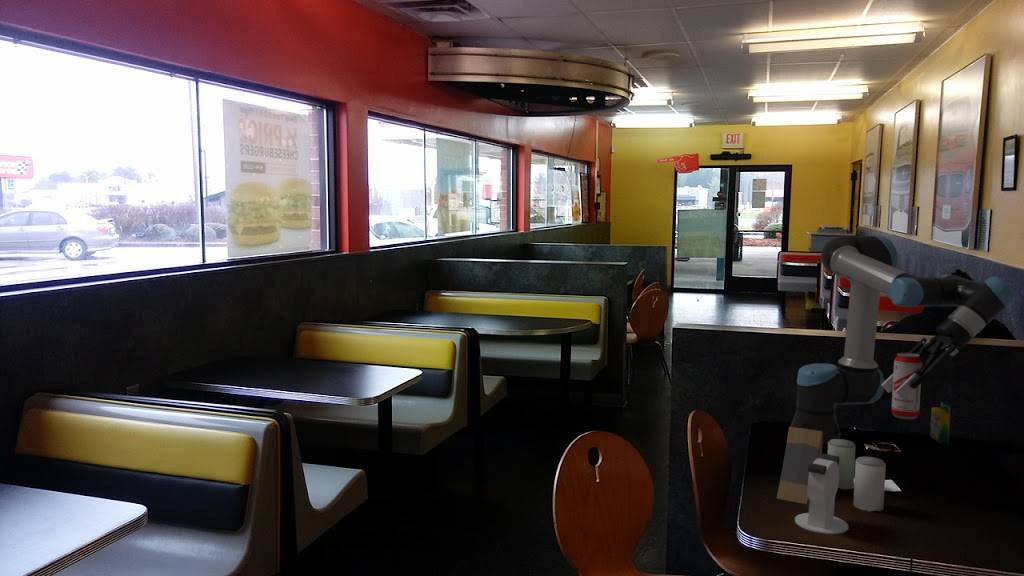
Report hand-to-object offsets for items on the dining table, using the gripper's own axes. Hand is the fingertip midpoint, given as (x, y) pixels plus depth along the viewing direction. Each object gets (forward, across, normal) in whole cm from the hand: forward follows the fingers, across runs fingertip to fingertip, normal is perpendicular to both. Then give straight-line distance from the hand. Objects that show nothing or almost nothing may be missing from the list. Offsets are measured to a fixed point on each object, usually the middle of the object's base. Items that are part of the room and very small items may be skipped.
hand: (892, 391), depth 192 cm
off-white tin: (+25, -9, -12) cm, 29 cm away
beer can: (+2, 0, -7) cm, 8 cm away
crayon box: (-10, +46, -48) cm, 67 cm away
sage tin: (+25, +6, -12) cm, 29 cm away
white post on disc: (+37, -19, -1) cm, 41 cm away
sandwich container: (+35, +1, -3) cm, 35 cm away
